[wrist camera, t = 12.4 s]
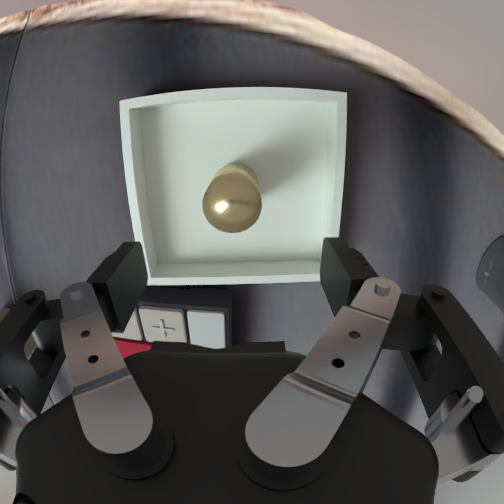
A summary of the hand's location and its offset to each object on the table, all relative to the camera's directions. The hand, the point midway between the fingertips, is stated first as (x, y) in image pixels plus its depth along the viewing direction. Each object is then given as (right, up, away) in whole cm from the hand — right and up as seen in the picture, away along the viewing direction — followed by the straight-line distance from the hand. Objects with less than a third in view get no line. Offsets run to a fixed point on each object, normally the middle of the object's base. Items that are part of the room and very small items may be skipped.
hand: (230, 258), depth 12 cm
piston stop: (-1, +6, +12) cm, 14 cm away
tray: (-1, +6, +13) cm, 14 cm away
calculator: (-9, -8, +20) cm, 24 cm away
